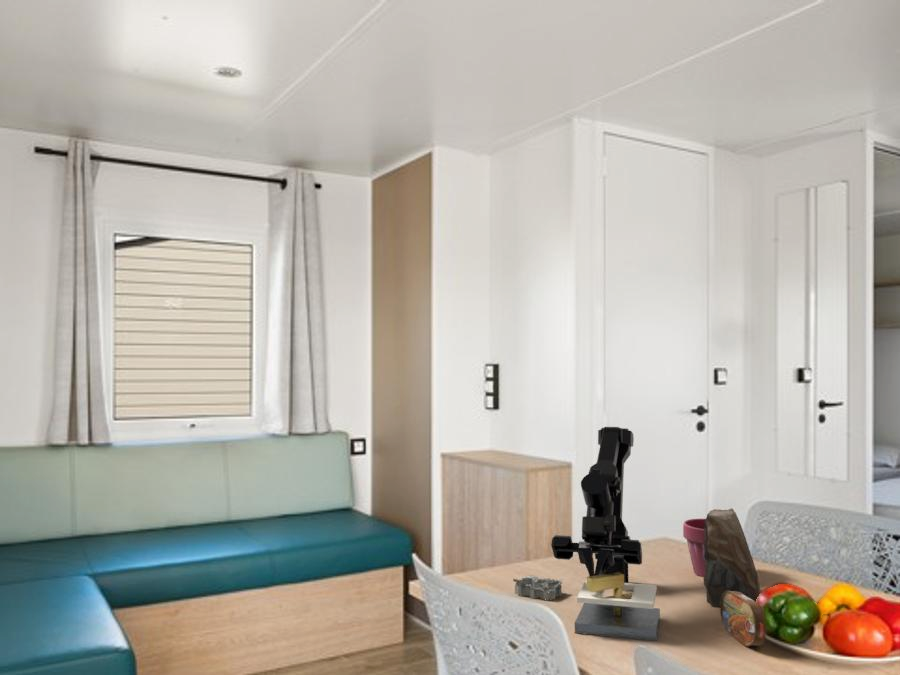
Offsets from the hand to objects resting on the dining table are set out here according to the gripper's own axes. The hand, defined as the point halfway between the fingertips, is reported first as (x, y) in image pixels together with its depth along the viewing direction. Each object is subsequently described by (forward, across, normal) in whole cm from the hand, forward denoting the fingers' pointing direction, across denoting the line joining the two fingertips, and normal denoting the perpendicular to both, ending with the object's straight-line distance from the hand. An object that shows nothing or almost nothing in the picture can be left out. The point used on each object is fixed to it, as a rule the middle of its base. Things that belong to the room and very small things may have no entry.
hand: (593, 586), depth 160 cm
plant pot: (-27, +24, +41) cm, 55 cm away
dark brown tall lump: (-11, +28, +24) cm, 39 cm away
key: (+4, +3, +5) cm, 7 cm away
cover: (0, +5, +3) cm, 6 cm away
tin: (+5, +29, +7) cm, 30 cm away
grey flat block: (+4, +5, +8) cm, 10 cm away
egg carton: (-7, -16, +20) cm, 26 cm away
